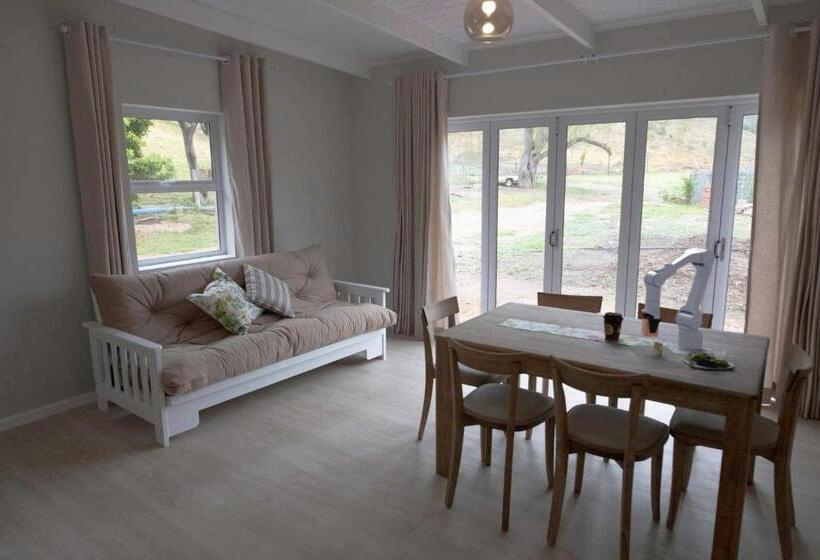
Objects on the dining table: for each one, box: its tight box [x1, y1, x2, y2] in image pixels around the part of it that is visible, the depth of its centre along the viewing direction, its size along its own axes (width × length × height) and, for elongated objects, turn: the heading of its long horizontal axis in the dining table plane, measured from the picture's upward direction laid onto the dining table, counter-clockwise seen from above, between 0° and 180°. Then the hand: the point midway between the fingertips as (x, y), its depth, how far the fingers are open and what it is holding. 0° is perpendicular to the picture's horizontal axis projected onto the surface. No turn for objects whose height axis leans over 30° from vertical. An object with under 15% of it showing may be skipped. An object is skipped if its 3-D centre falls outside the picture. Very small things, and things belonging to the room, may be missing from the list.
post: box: [653, 341, 664, 355], centre depth 234 cm, size 3×3×5 cm
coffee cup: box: [602, 311, 624, 343], centre depth 254 cm, size 9×8×13 cm
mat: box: [626, 344, 681, 359], centre depth 238 cm, size 17×17×1 cm
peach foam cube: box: [641, 318, 660, 338], centre depth 236 cm, size 5×5×7 cm
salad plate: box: [681, 352, 735, 372], centre depth 222 cm, size 19×18×5 cm
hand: (650, 331), depth 236 cm, fingers closed on peach foam cube, 5 cm apart
